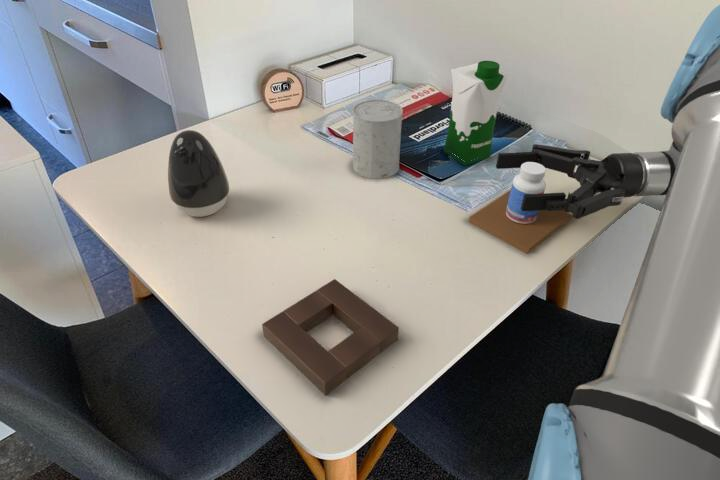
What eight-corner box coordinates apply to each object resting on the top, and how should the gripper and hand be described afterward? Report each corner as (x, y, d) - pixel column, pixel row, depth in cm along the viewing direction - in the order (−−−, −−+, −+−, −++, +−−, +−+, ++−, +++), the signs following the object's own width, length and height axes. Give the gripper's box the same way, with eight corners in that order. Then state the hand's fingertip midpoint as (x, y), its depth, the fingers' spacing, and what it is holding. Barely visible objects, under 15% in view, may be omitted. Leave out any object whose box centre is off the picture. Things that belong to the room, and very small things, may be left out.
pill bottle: (529, 228, 89) (542, 180, 83) (500, 217, 92) (510, 169, 85) (541, 213, 93) (554, 166, 86) (513, 203, 95) (523, 156, 89)
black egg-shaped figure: (165, 223, 91) (143, 145, 82) (187, 190, 99) (169, 116, 90) (221, 227, 90) (206, 149, 81) (239, 194, 98) (227, 119, 89)
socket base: (325, 396, 64) (324, 383, 62) (263, 336, 71) (261, 323, 70) (398, 339, 71) (399, 327, 69) (335, 290, 78) (334, 278, 77)
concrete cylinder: (394, 181, 102) (398, 124, 95) (347, 175, 104) (347, 118, 96) (402, 157, 110) (406, 102, 102) (358, 152, 111) (359, 97, 104)
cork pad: (527, 253, 86) (528, 249, 85) (468, 221, 92) (469, 217, 92) (570, 219, 93) (572, 214, 92) (513, 191, 100) (514, 187, 99)
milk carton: (464, 169, 106) (479, 73, 94) (437, 150, 112) (447, 57, 100) (496, 158, 110) (515, 64, 97) (468, 140, 116) (482, 49, 103)
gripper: (663, 236, 82) (531, 244, 80) (593, 158, 101) (485, 163, 99) (682, 196, 77) (542, 204, 75) (605, 122, 96) (491, 126, 94)
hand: (509, 180), depth 87 cm, fingers open, 12 cm apart
